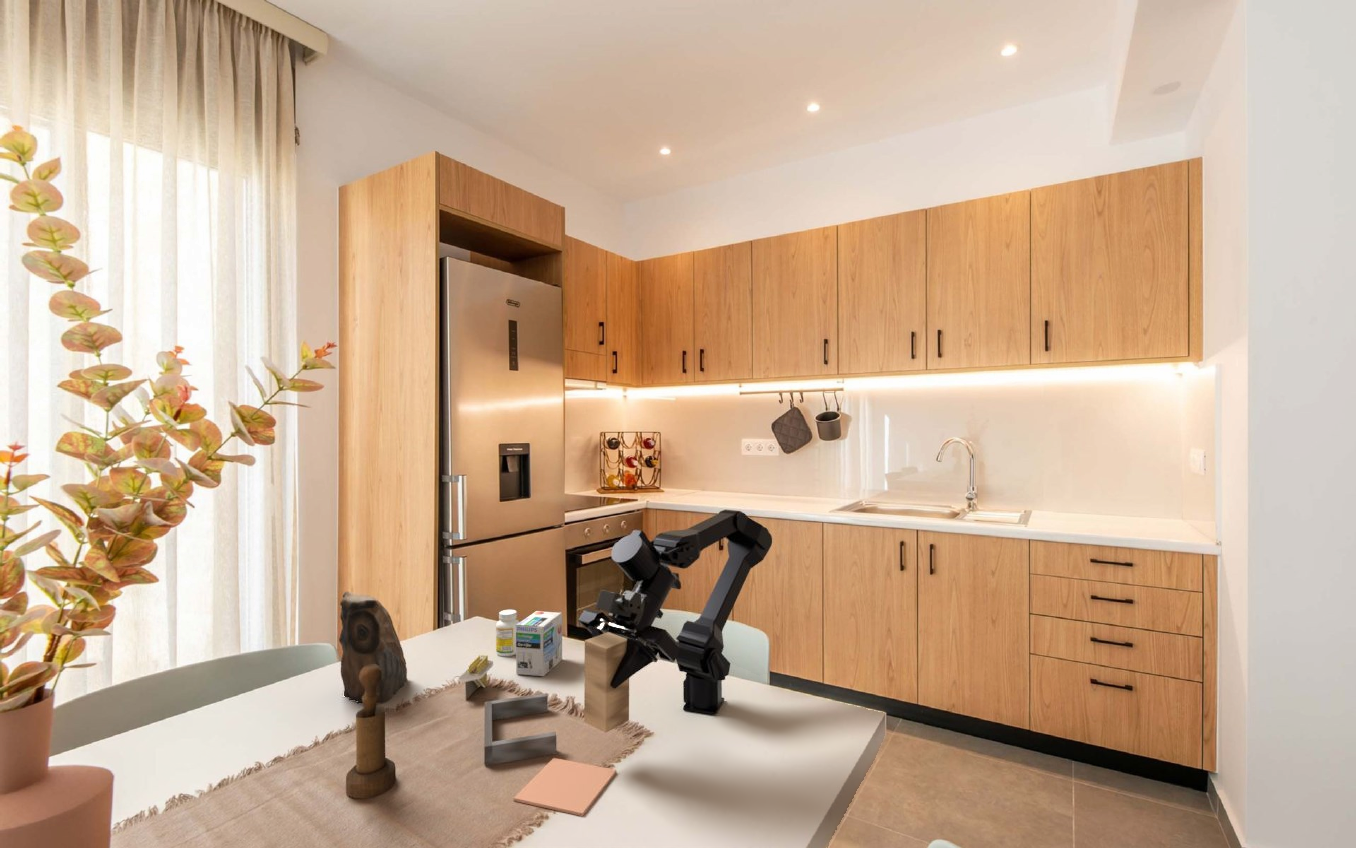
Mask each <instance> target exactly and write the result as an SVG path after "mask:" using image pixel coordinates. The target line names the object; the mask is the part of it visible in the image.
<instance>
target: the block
mask: <svg viewBox="0 0 1356 848" xmlns="http://www.w3.org/2000/svg"><path fill="white" fill-rule="evenodd" d="M626 648H627V639H626V638H623V637H621V636H618V635H615V634H612V633H610V632H607V633H604V634H601V635H599V636H596V637H591V638H588V639H584V684H583V685H584V687H583V688H584V700H583V701H584V702H583V704H584V705H583V706H584V707H583V708H584V712H583V716H584V720H583V721H584V722H583V723H586V724H588V725H590V726H591V727H594V728H595V729H597V730H599V731H600V732H604V733H605V734H606V733H608V732H611V731H612V730H614V729H616V728H617V727H619V726H621V725H623V724H625V723H627V722H629V721H630V678H628V679H627V680H626V681H625V682H623V683H622V684H621V685H619V686H618V687H617V688H615V689H614V688H612V687H611V685H610V684H611V682H612V679H613V677H614V674H615V672H616V670H617V668H618V667H619V665H620V663H621V661H622V659H623V657H624V655H625V653H626Z"/></svg>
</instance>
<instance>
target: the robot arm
mask: <svg viewBox="0 0 1356 848" xmlns="http://www.w3.org/2000/svg"><path fill="white" fill-rule="evenodd" d="M723 539H725V540H727V544H726V545H727V552H728V558H727V561H726V562H725V564H724V565H723V568H722V571H721V572H720V575H719V577H718V579H717V581H716V583H715V585H714V587H713V589H712V592H711V593H710V596H709V597H708V599H707V602H706V603H705V606H704V607H703V610H702V612H701V613H700V616H699V617H698V619H696V620H695V621H691V620H686V621H685V622H684V623H683V626H682V628H681V631H680V633H679V634H678V636H676V640H675V639H674V638H673V636H672V635H671V634H670V633H669V632H668V631H667V630H666V629H664V628H660V627H658V626H653V623H654V622H655V620H656V618H657V619H662V617H663V615H664V612H663V610H662V607H663V605H664V603H665V601H666V599H667V597H668V595H669V594H670V591H671V590H672V589H675V590H681V589H682V582H681V580H680V574H679V573H678V572H673V571H672V570H671V569H670V567H673V568H678V569H688V568H690V567H691V566H692V565H693V564H694V563H695V562H696V561H697V560H699V559H700V556H701V552H702V551H704V549H706V548H709V547H710V546H712V545H714V544H716V543H717V542H719V541H721V540H723ZM772 544H773V536H772V534H771V533H770V532H769V530H768V528H767V527H765V526H763V525H762V524H761V523H759V522H758V521H755V520H754V519H752V518H750V517H749V516H747V514H746V513H745V512H743V511H742V510H736V509H735V510H734V509H723V510H719V512H718V513H717V514H714V515H712V517H709V518H707V519H705V520H703V521H701V522H699V523H697V524H694V525H692V526H691V527H688V528H685V529H676V530H669V531H668V530H667V531H663V532H660V533H658V534H657V535H655V537H654V539H652V540H651V541H650V540H649V539H648V536H647V534H646V532H644V531H643V530H642V529H641V530H639V529H633V531H631V534H628V535H625V536H624V537H622V538H620V540H618V542H615V543H614V545H613V546H612V549H611V552H610V555H611V559H612V560H613V561H614V563H616V565H618V567H619V568H620V569H621V571H623V572H624V574H625V575H626V576H627V577H628V578H629V579H630V580H631V581H632V582H636V584H634V587H633V589H632V590H627V589H626V590H625V591H624V592H623V593H622V594H620V593H617V592H612V591H609V590H604V589H600V591H599V593H598V598H597V600H596V604H595V607H594V609H593V608H587V609H584V610H583V611H582V612H581V614H580V616H579V618H578V619H577V622H579V623H580V624H581V625H582V626H583V628H585V629H586V630H587V631H588V632H589V633H590V634H591V636H592V637H591V638H593V637H596V636H599V635H601V634H604V633H607V632H610V633H612V634H615V635H618V636H621V637H623V638H626V639H627V648H626V653H625V655H624V657H623V659H622V661H621V663H620V665H619V667H618V668H617V670H616V672H615V674H614V677H613V679H612V682H611V684H610V685H611V687H612V688H614V689H615V688H617V687H618V686H619V685H621V684H622V683H623V682H625V681H626V680H627V679H628V678H629V679H630V678H631V677H632V676H634V675H635V674H636V673H638V672H639V671H641V670H643V669H644V668H645V667H648V665H651V663H657V662H658V661H659V660H658V658H657V655H658V657H659V658H660V659H661V660H664V661H666V662H670V663H675V661H676V663H677V667H678V672H681V673H685V679H684V680H683V682H682V684H683V686H682V687H683V690H682V691H683V698H682V699H683V703H684V705H683V707H682V710H683V711H688V712H693V713H694V712H695V713H701V714H706V715H707V714H708V715H717V714H718V712H719V711H720V709H721V707H722V705H723V704H724V702H725V697H723V696H722V694H723V688H722V687H723V686H722V685H723V684H722V683H723V682H722V681H725V680H726V677H727V676H728V675H729V674H730V668H731V662H730V661H729V660H728V659H727V657H725V656H724V655H723V651H724V647H725V646H724V639H723V638H724V637H723V631H724V628H725V626H726V623H727V621H728V620H729V619H728V618H729V617H730V614H731V612H732V611H733V608H734V607H735V603H736V601H737V599H738V597H739V595H740V593H741V590H742V588H743V586H744V585H745V581H746V579H747V578H748V575H749V573H750V572H751V569H752V568H754V567H755V566H757V565H758V564H760V563H761V562H762V561H764V559H765V557H766V556H767V554H768V552H770V549H771V547H772ZM600 610H601V611H600ZM603 611H605V612H606V613H608V616H609V617H608V616H607V615H606V614H605V613H604V612H603ZM610 618H611V619H612V620H614V622H613V621H612V620H611V619H610Z"/></svg>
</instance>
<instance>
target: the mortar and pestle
mask: <svg viewBox="0 0 1356 848" xmlns="http://www.w3.org/2000/svg"><path fill="white" fill-rule="evenodd" d="M381 675H382V671H381V668H380V667H379V666H378V665H376V664H370V665H366V666H365V667H363V668H362V669H361V671H360V674H359V680H360V682H361V683H362V685H363V686H364V688H365V694H364V695H363V696H362V702H363V708H362V709H360V710H358V711H357V712H356V714H355V731H356V733H355V734H356V735H355V736H356V737H355V738H356V740H355V742H356V744H355V745H356V747H355V748H356V750H355V753H356V754H355V755H356V757H355V758H356V759H355V761H356V763H355V765H353V767H352V768H351V769H349V771H348V772H347V773H346V776H345V794H346V795H347V796H348V797H349V796H350V798H352V797H353V798H352V799H360V800H361V799H369V798H372V797H377V796H378V795H379V796H380V795H381V794H383V793H385V792H387V791H389V790H390V789H391V788H392V787H393V786H394V784H395V783H396V779H397V775H396V774H397V773H396V769H397V768H396V764H395V762H394V761H393V760H391V759H389V758H388V757H386V707H385V706H383V705H378V703H377V702H378V698H379V694H378V693H376V686H377V684H378V682H379V680H380V678H381Z"/></svg>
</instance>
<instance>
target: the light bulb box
mask: <svg viewBox="0 0 1356 848" xmlns="http://www.w3.org/2000/svg"><path fill="white" fill-rule="evenodd" d="M562 660H563V613H562V612H556V611H554V612H552V611H542V610H541V611H540V610H536V611H534V612H533V613H532V614H530V615H529V616H527V617H526V618H524V619H523V620H521V621H519V623H518V624H517V625H516V654H515V663H516V664H515V666H516V667H515V669H516V670H515V672H516V673H515V674H516V675H523V676H526V675H527V676H535V677H545V676H546V674H548V673H549V672H550V671H551V670H552V669H553V668H555V667H556V666H557V664H559V663H560V662H561V661H562Z"/></svg>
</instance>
